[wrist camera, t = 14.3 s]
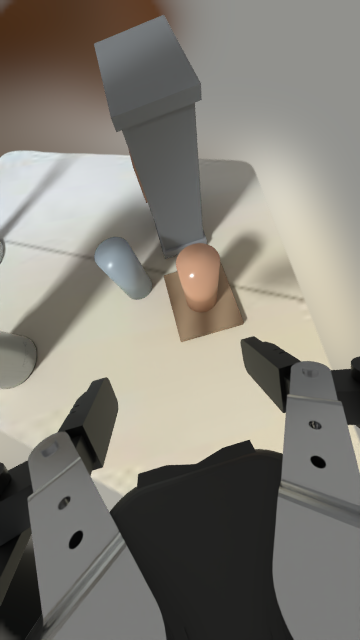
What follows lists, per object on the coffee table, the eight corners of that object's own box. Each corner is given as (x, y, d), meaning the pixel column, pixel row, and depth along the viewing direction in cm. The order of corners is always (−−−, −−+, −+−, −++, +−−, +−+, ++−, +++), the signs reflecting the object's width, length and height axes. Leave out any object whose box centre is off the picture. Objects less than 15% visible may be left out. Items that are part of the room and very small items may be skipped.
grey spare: (128, 302, 34) (96, 274, 25) (123, 279, 36) (92, 243, 27) (154, 294, 34) (132, 262, 25) (149, 271, 36) (126, 232, 26)
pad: (181, 342, 31) (180, 340, 30) (164, 278, 35) (163, 275, 34) (242, 324, 30) (243, 322, 29) (218, 261, 34) (219, 258, 33)
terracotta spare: (190, 315, 31) (181, 286, 21) (182, 288, 32) (171, 250, 23) (220, 307, 30) (225, 273, 21) (211, 280, 32) (212, 238, 23)
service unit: (165, 258, 36) (111, 118, 17) (150, 204, 40) (94, 43, 21) (206, 245, 35) (200, 83, 16) (187, 191, 40) (163, 14, 20)
